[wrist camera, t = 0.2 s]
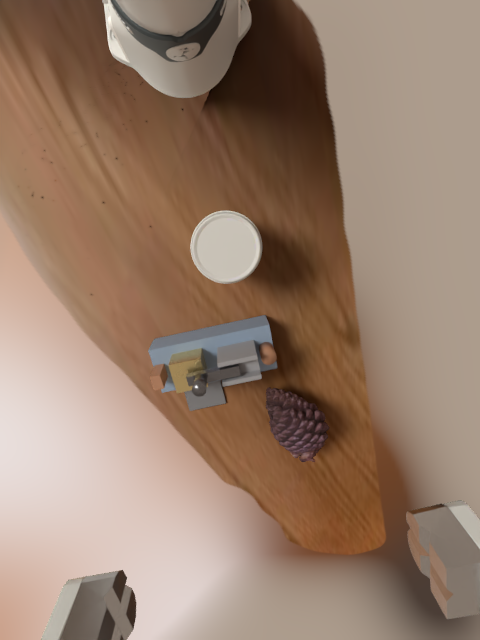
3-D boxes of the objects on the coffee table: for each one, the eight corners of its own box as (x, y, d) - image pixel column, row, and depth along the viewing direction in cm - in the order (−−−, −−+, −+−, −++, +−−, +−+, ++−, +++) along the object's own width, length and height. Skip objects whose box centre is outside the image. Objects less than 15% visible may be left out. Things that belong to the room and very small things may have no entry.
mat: (182, 382, 62) (181, 383, 62) (218, 374, 62) (218, 375, 62) (190, 409, 64) (190, 410, 64) (225, 402, 64) (226, 403, 64)
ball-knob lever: (186, 372, 51) (183, 387, 47) (238, 361, 51) (239, 375, 47) (189, 383, 52) (187, 399, 48) (240, 372, 52) (242, 387, 47)
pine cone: (245, 388, 64) (250, 419, 54) (290, 360, 62) (303, 387, 53) (293, 450, 69) (305, 489, 59) (335, 426, 67) (354, 462, 58)
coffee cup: (266, 241, 55) (277, 250, 44) (224, 280, 57) (225, 299, 45) (226, 196, 52) (227, 194, 41) (184, 238, 54) (174, 247, 43)
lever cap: (171, 354, 55) (168, 365, 51) (201, 347, 55) (200, 358, 51) (179, 380, 57) (177, 393, 53) (208, 374, 57) (208, 386, 53)
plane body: (154, 338, 59) (140, 367, 49) (265, 315, 59) (274, 338, 49) (166, 378, 62) (155, 413, 52) (273, 355, 62) (283, 385, 51)
